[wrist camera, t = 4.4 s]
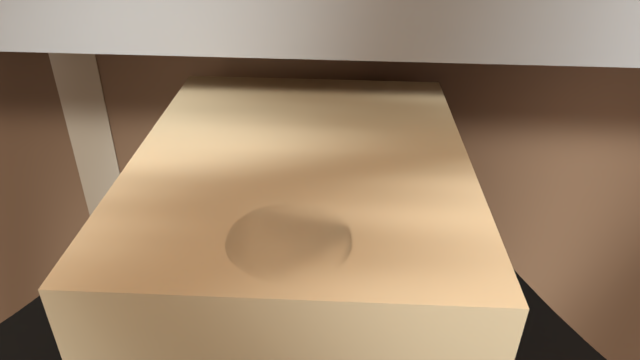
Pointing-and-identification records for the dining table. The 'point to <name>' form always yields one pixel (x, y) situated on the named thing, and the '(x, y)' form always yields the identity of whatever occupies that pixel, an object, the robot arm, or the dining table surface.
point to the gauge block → (291, 234)
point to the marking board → (347, 64)
